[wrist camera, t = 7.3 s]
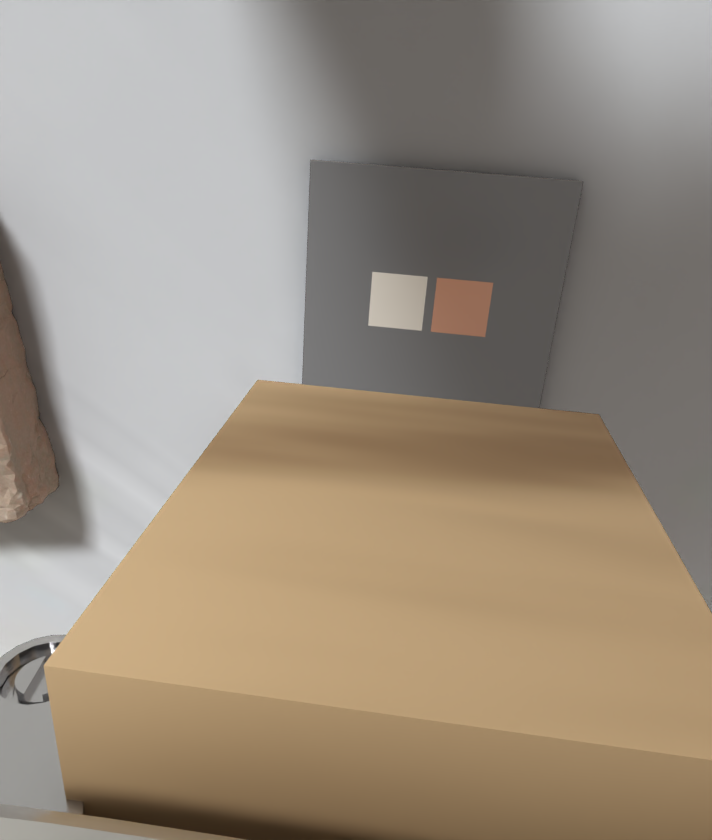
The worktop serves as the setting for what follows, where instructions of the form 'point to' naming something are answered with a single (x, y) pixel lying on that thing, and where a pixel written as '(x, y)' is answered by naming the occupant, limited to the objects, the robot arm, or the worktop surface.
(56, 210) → the worktop surface
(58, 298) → the worktop surface
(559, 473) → the oak block
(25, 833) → the robot arm
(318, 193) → the pad
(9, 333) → the brick
